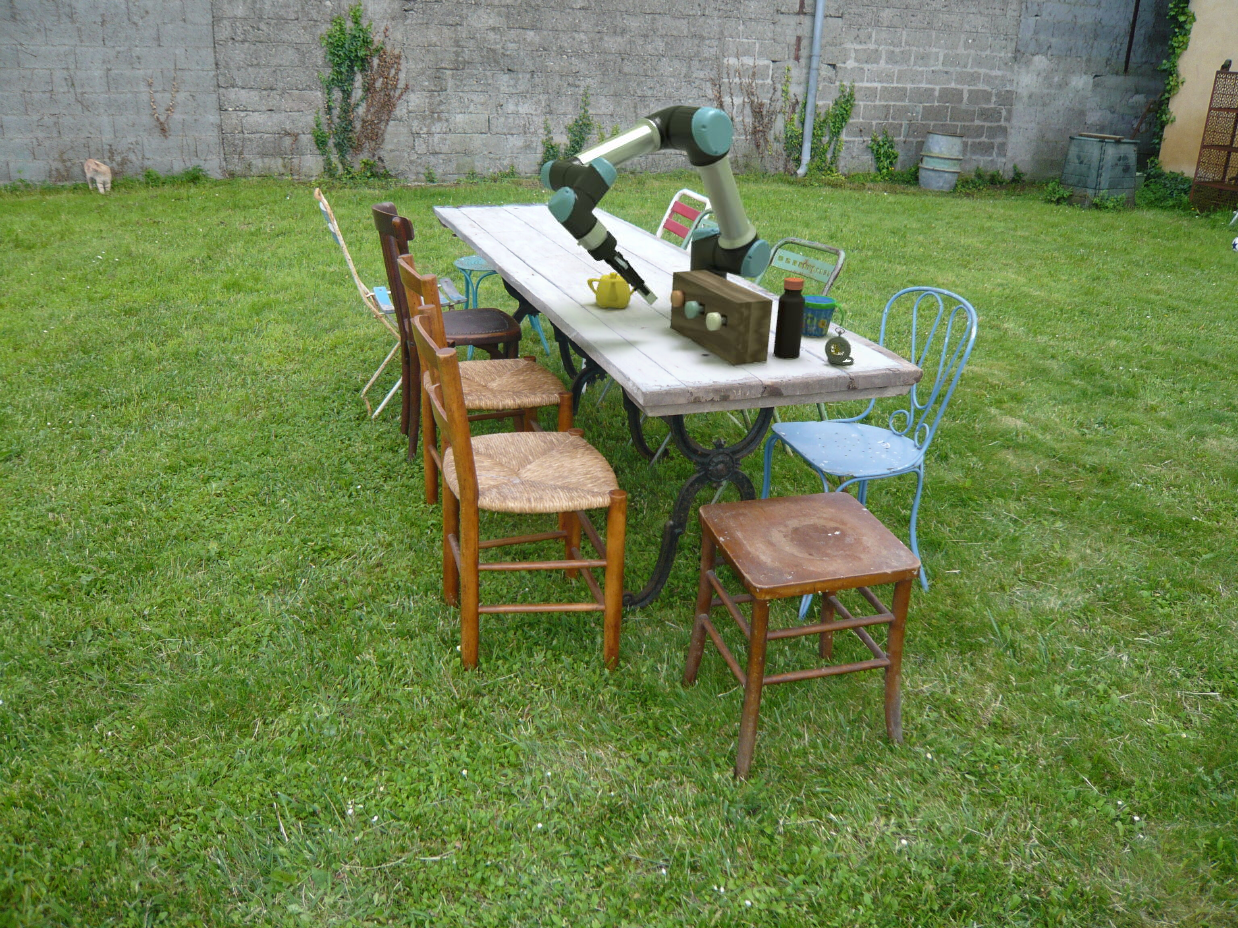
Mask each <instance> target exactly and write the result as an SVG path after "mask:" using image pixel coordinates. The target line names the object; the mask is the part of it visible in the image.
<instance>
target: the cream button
mask: <svg viewBox="0 0 1238 928" xmlns="http://www.w3.org/2000/svg"><path fill="white" fill-rule="evenodd" d="M721 324H727V317H723V318H721V316H720V314H719V313H717V312H715V313H708V314H707V317H706V325H707V328H708V329H709V330H710V331H712V330H719V329H720V327H721Z"/></svg>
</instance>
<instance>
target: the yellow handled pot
mask: <svg viewBox="0 0 1238 928" xmlns="http://www.w3.org/2000/svg"><path fill="white" fill-rule="evenodd" d="M586 282H587V285H588V287H589V289H590V290H591V291H592V293H593V294H594V295H595V301H596V303H597V306H599V307H601V309H609V308H615V309H616V308H617V309H619V310H623V309H624V308H626V307H627V306H629V303H630V302H631V297H632V295H634V293H635V291H634V290H633V289H634V288H635V287H632V289H630V284H628V283H627V282H626V281H625V280H624V279H623V278H622V277H621V276H620V275H619V274H618V273H617V272H616V271H614V272H612V271H611V272H609V274H602V275H601V277H600V278H594V277H593V278H591V277H590V278H587V281H586ZM593 282H597V286H596V289H595V287H594V285H593V284H594V283H593Z"/></svg>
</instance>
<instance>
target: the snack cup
mask: <svg viewBox="0 0 1238 928" xmlns="http://www.w3.org/2000/svg"><path fill="white" fill-rule="evenodd" d="M802 296H803V297H804V298H805V309H804V318H803V327H802V335H804V336H806V337H807V336H808V337H817V338H822V337H825V336H827V335H828V332H829V329H830V325H831V321H832V318H833V315H834V312H835V310H836V308H838V310H839V312H840V314H841V319H840V324H838V325H839V327H840V328H842V327H841V326H843V323H844V320H845V310H844V308H843V306H842V304H840V303H839V302H838V301H837V299H835V298H834V297H830V296H827V295H820V294H804V295H803V294H802Z"/></svg>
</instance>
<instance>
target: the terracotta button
mask: <svg viewBox="0 0 1238 928" xmlns="http://www.w3.org/2000/svg"><path fill="white" fill-rule="evenodd" d="M670 304H672V306H673V307H682V306H683V304H684V295H683V292H682V291H681V290H679V291H672V290H671V293H670Z"/></svg>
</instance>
